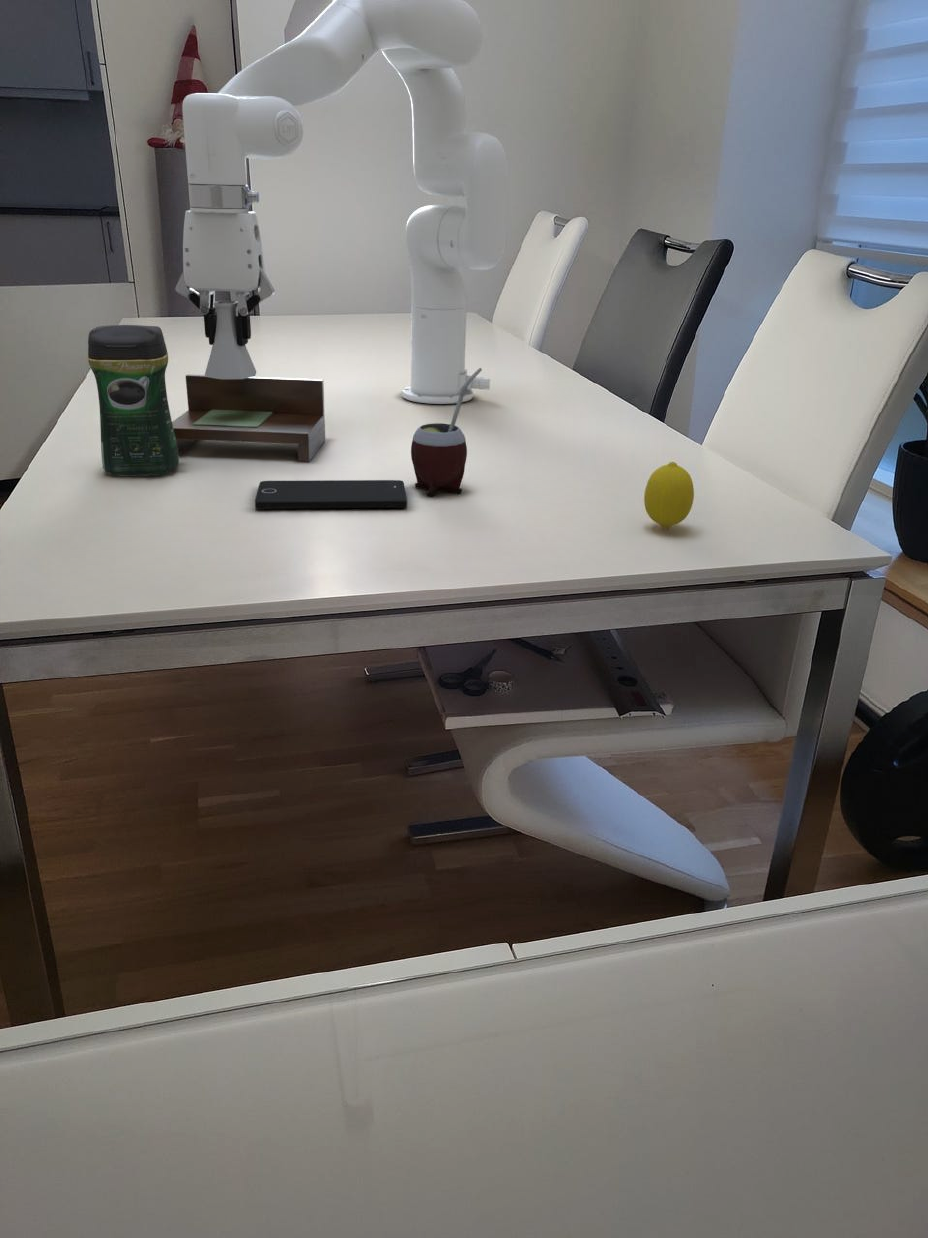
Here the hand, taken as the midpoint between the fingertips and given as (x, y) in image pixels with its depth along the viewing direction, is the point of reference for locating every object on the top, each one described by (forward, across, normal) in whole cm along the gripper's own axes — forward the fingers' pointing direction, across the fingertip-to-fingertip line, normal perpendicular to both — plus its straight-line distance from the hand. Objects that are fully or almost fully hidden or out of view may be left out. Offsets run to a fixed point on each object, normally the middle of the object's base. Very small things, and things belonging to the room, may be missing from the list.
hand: (228, 342), depth 139 cm
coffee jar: (+15, +9, +14) cm, 22 cm away
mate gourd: (+15, -31, +16) cm, 38 cm away
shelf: (+15, -2, 0) cm, 15 cm away
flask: (+5, 0, 0) cm, 5 cm away
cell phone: (+15, -18, +22) cm, 32 cm away
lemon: (+15, -58, +28) cm, 66 cm away
